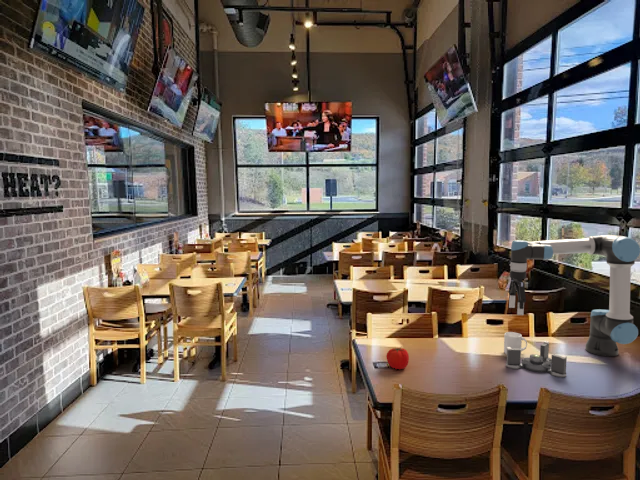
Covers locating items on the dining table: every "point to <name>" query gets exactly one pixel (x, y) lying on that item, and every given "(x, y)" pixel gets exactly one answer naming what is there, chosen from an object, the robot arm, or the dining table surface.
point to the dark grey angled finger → (513, 356)
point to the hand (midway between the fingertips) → (515, 311)
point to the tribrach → (536, 365)
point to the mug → (513, 341)
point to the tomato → (397, 358)
